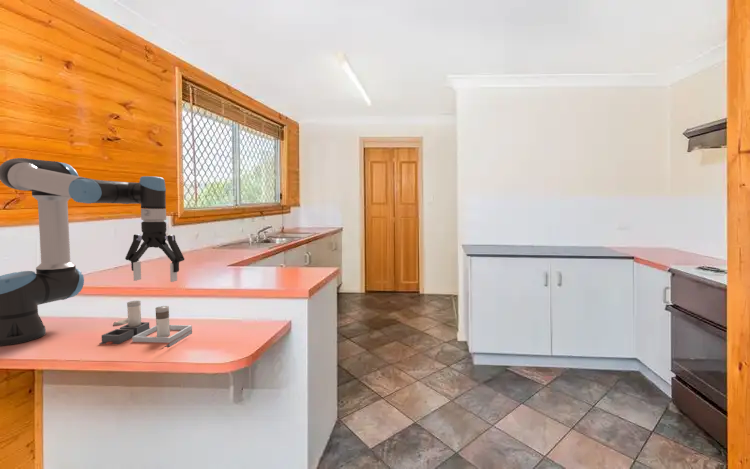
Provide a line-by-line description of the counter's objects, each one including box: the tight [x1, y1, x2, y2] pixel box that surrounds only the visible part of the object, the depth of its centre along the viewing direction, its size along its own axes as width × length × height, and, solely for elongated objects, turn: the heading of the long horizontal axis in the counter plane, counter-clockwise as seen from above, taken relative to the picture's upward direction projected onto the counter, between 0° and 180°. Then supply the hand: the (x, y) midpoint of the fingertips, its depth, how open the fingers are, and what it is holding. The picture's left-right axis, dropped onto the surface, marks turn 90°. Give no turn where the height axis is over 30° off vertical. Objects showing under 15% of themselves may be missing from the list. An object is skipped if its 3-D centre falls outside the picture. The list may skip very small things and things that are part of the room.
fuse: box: [126, 300, 142, 327], centre depth 132 cm, size 4×4×11 cm
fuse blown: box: [155, 305, 171, 337], centre depth 128 cm, size 4×4×11 cm
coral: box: [112, 317, 128, 326], centre depth 145 cm, size 6×10×4 cm, turn 5°
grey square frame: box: [131, 324, 193, 348], centre depth 129 cm, size 13×13×3 cm
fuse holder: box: [99, 321, 151, 345], centre depth 128 cm, size 7×16×4 cm, turn 176°
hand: (155, 280), depth 128 cm, fingers open, 13 cm apart
